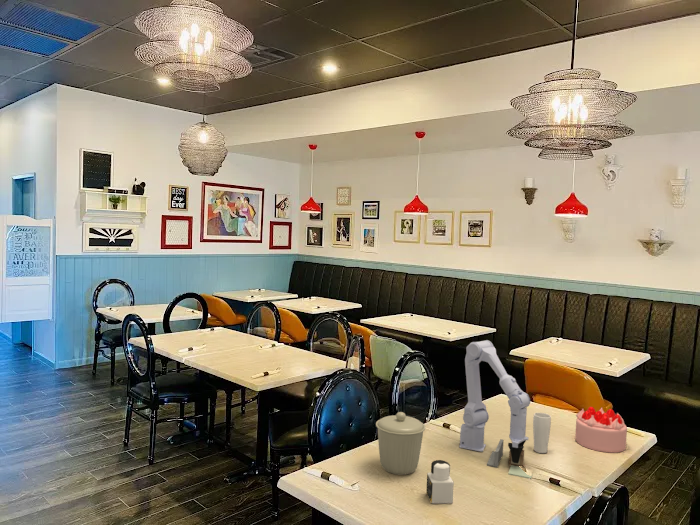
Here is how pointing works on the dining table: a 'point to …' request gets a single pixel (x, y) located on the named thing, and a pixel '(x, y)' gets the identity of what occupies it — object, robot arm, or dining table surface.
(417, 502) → the dining table surface
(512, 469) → the pad
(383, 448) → the canister
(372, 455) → the dining table surface
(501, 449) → the grey block
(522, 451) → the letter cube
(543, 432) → the beige paper cup
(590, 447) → the cake
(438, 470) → the medicine bottle
